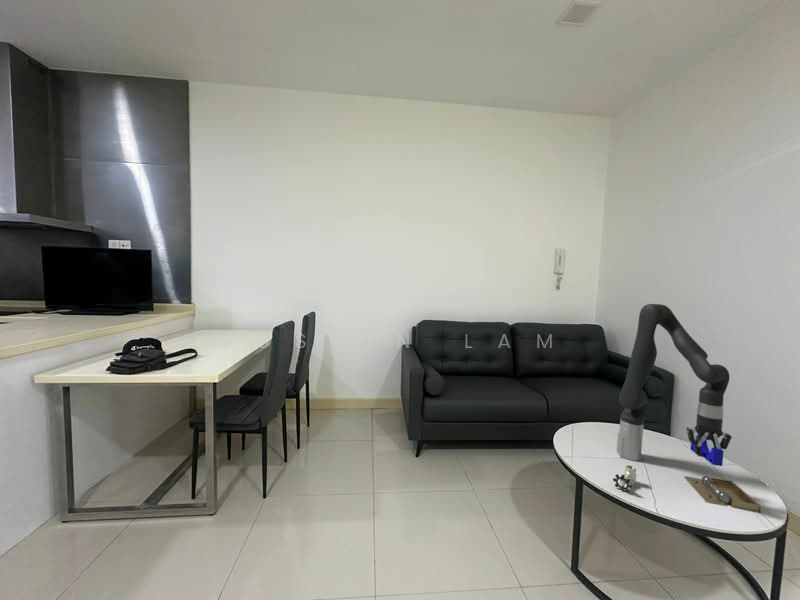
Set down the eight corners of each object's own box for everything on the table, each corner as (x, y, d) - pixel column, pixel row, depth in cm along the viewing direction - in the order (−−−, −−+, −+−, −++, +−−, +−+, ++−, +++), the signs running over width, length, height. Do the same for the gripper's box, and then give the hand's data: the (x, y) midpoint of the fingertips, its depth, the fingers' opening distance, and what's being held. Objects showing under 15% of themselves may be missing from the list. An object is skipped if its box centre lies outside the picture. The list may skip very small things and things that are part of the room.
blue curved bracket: (690, 449, 140) (691, 435, 139) (703, 451, 139) (704, 437, 138) (707, 464, 128) (709, 448, 128) (722, 466, 127) (723, 450, 127)
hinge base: (705, 501, 129) (706, 493, 128) (684, 477, 145) (684, 470, 145) (760, 512, 123) (761, 503, 123) (731, 486, 140) (732, 478, 139)
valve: (622, 477, 144) (612, 487, 136) (623, 462, 144) (613, 471, 136) (640, 484, 139) (630, 495, 131) (641, 469, 138) (632, 479, 131)
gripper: (692, 415, 131) (688, 457, 132) (738, 421, 126) (735, 464, 127) (683, 408, 138) (680, 448, 139) (727, 414, 133) (723, 455, 134)
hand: (706, 456), depth 133 cm, fingers closed on blue curved bracket, 4 cm apart
